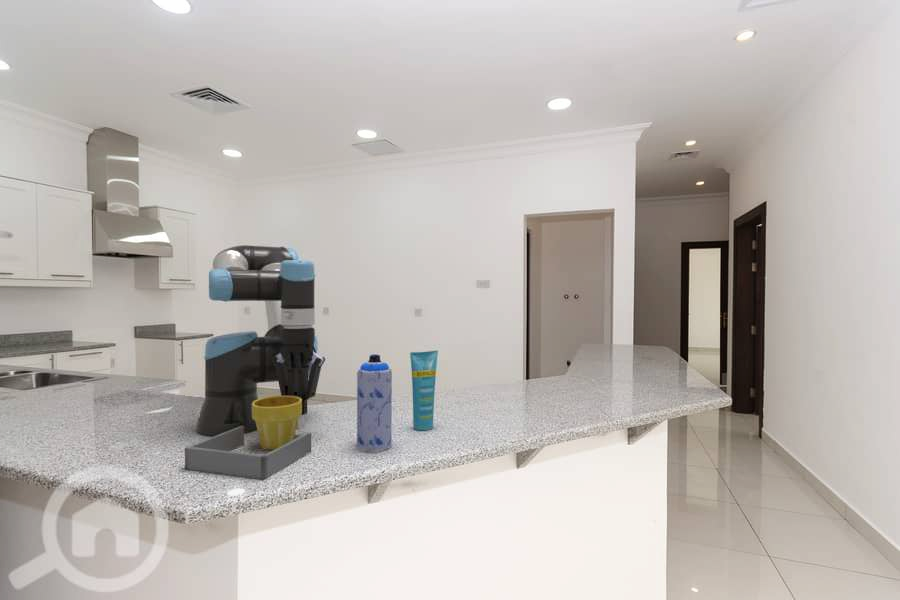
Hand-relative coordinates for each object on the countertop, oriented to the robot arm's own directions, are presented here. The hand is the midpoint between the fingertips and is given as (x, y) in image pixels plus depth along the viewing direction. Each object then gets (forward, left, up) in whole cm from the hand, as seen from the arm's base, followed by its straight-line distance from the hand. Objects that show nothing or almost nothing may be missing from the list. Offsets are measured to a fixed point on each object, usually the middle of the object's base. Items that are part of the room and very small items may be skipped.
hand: (298, 428), depth 106 cm
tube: (+26, +15, -2) cm, 30 cm away
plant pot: (-1, -7, -2) cm, 7 cm away
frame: (0, -16, -2) cm, 16 cm away
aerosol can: (+20, -1, -2) cm, 20 cm away
